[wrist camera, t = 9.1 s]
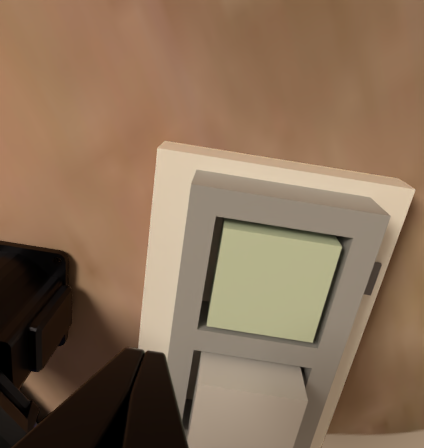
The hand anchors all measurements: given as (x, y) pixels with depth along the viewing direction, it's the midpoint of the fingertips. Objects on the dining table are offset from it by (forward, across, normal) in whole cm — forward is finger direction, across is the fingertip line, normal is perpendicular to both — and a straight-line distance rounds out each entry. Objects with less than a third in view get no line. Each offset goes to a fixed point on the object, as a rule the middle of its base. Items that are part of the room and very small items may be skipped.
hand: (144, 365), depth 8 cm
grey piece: (+13, -4, +10) cm, 17 cm away
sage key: (+11, -4, +3) cm, 12 cm away
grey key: (+9, -4, +10) cm, 14 cm away
